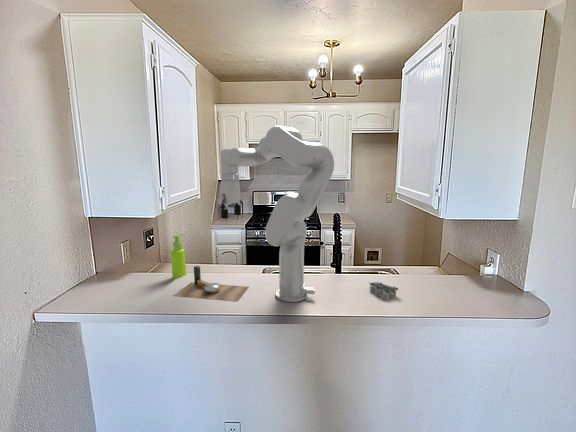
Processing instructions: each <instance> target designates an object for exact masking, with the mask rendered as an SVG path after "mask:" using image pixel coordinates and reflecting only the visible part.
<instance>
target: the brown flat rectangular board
mask: <svg viewBox="0 0 576 432" xmlns="http://www.w3.org/2000/svg"><path fill="white" fill-rule="evenodd" d="M249 288H250V286H245V285H244V286H243V285H230V284H220V291H219V292H217V293H213V294H209V293H206V292H205V287H204V286H202V285H200V284H194V281H193V282H189V284H187V285H186V286H185V287H182V288H181V289H180V290H178V292H177V293H175V294H174V295H173V297H181V298H191V299H204V300H216V301H223V302H224V301H225V302H237V303H238V302H239V300H240V299H242V297H243V296H244V295H245V293H246V292H247V291H248V290H249Z"/></svg>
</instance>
